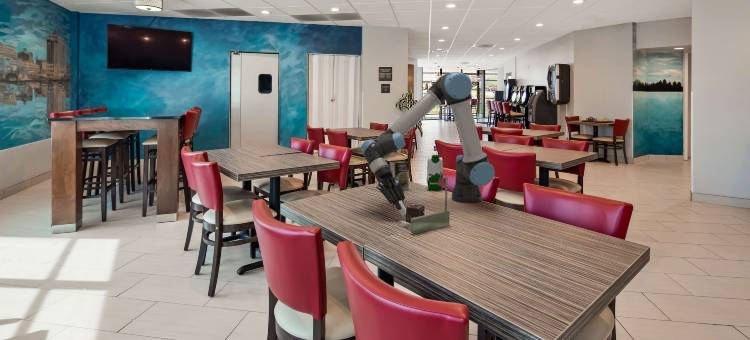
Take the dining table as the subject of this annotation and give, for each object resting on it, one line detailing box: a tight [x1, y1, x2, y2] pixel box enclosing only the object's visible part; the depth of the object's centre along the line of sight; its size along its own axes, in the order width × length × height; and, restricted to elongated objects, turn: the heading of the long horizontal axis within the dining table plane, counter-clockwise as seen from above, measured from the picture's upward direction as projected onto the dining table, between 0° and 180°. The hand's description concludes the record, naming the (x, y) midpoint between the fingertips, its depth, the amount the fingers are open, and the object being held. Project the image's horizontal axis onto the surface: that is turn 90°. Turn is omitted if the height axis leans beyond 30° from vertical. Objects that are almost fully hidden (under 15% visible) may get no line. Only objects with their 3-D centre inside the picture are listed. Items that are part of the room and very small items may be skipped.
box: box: [405, 203, 426, 223], centre depth 181 cm, size 6×6×7 cm
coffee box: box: [389, 160, 410, 192], centre depth 244 cm, size 9×6×16 cm
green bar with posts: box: [398, 176, 451, 235], centre depth 176 cm, size 13×20×20 cm, turn 128°
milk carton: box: [426, 154, 444, 192], centre depth 245 cm, size 9×9×20 cm
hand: (405, 215), depth 183 cm, fingers closed
